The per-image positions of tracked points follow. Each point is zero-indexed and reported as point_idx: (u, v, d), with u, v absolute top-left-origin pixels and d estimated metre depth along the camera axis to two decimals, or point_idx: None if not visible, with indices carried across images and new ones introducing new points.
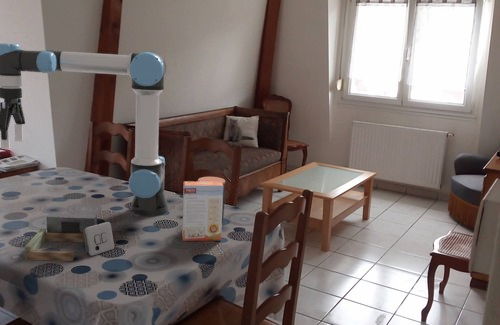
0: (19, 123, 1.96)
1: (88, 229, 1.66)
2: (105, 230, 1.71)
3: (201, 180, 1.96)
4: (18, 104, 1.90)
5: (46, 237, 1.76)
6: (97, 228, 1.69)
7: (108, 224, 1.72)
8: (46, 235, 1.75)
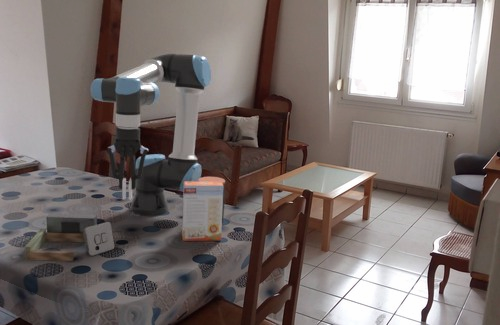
0: (131, 177, 1.66)
1: (88, 229, 1.66)
2: (105, 230, 1.71)
3: (201, 180, 1.96)
4: (132, 149, 1.62)
5: (46, 237, 1.76)
6: (97, 228, 1.69)
7: (108, 224, 1.72)
8: (46, 235, 1.75)
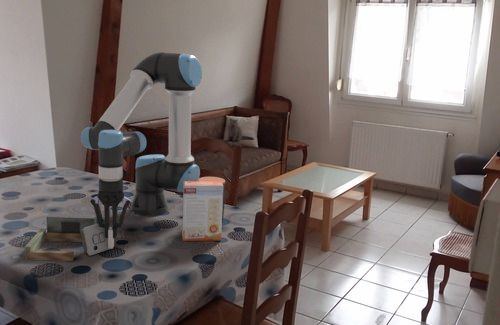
0: None
1: (86, 229, 1.66)
2: (103, 229, 1.71)
3: (201, 180, 1.96)
4: (115, 200, 1.65)
5: (46, 237, 1.76)
6: (95, 227, 1.68)
7: None
8: (46, 235, 1.75)
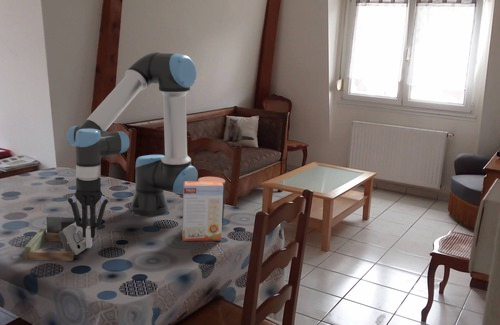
0: None
1: (66, 229, 1.64)
2: (79, 228, 1.70)
3: (201, 180, 1.96)
4: (93, 199, 1.65)
5: (46, 237, 1.76)
6: (73, 227, 1.67)
7: None
8: (46, 235, 1.75)
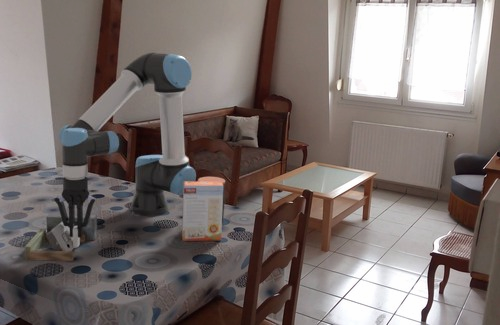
0: None
1: (55, 230, 1.63)
2: (66, 228, 1.70)
3: (201, 180, 1.96)
4: (80, 199, 1.64)
5: (46, 237, 1.76)
6: (60, 227, 1.67)
7: None
8: None
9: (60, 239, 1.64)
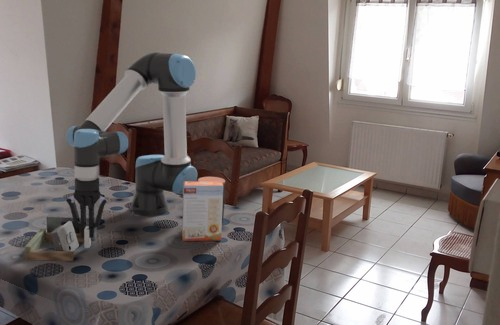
0: (89, 225, 1.68)
1: (60, 231, 1.63)
2: (70, 229, 1.70)
3: (201, 180, 1.96)
4: (91, 200, 1.65)
5: (46, 237, 1.76)
6: (65, 228, 1.67)
7: (71, 223, 1.70)
8: (46, 235, 1.75)
9: (64, 241, 1.64)
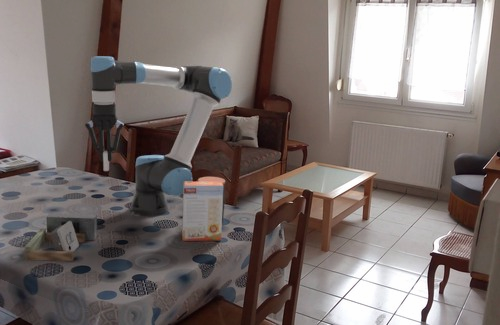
0: (107, 149, 1.78)
1: (60, 231, 1.63)
2: (70, 229, 1.70)
3: (201, 180, 1.96)
4: (109, 123, 1.75)
5: (46, 237, 1.76)
6: (65, 228, 1.67)
7: (71, 223, 1.70)
8: (46, 235, 1.75)
9: (64, 241, 1.64)
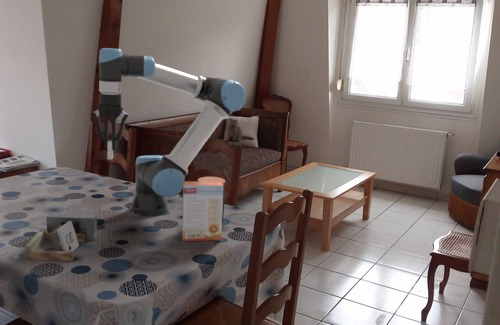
0: (112, 138, 1.84)
1: (60, 231, 1.63)
2: (70, 229, 1.70)
3: (201, 180, 1.96)
4: (114, 113, 1.81)
5: (46, 237, 1.76)
6: (65, 228, 1.67)
7: (71, 223, 1.70)
8: (46, 235, 1.75)
9: (64, 241, 1.64)
